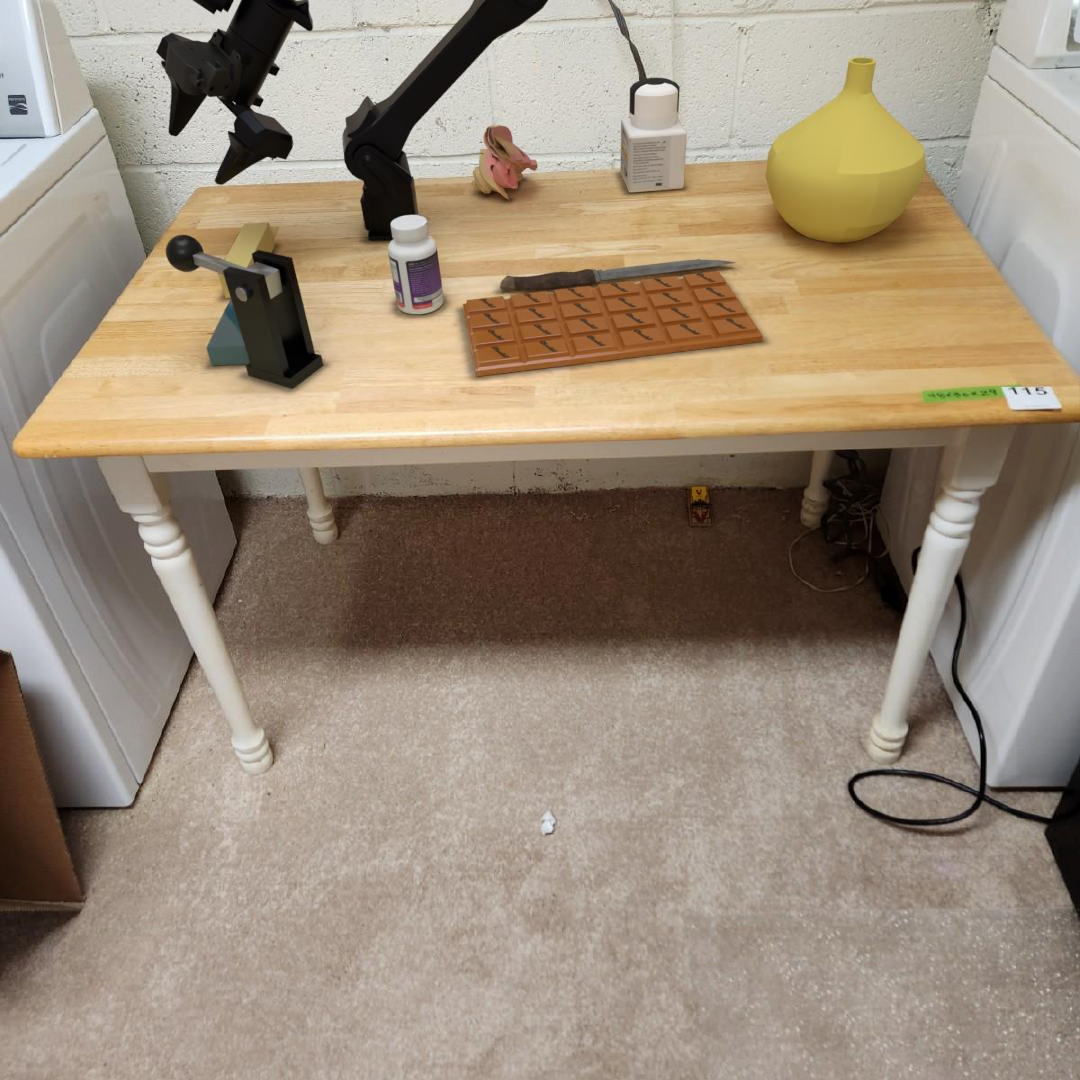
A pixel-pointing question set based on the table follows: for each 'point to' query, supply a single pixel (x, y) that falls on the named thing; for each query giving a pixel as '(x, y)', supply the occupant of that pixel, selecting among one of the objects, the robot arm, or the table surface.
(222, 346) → the butter dish
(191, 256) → the lever handle
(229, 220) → the table surface
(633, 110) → the container
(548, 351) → the chocolate bar
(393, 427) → the table surface
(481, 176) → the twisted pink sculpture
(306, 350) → the stand
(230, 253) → the butter
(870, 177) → the vase
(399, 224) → the pill bottle
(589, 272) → the knife
